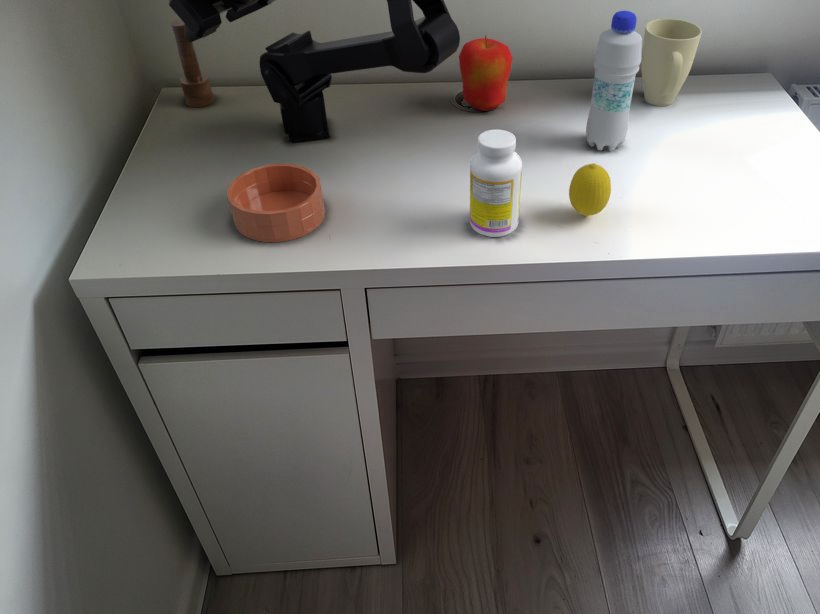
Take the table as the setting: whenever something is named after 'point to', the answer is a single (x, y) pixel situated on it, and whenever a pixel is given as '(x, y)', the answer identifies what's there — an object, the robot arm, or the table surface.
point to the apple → (485, 72)
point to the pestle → (191, 70)
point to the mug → (667, 58)
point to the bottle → (614, 82)
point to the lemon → (590, 189)
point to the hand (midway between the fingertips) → (208, 29)
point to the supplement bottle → (495, 184)
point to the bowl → (276, 202)
